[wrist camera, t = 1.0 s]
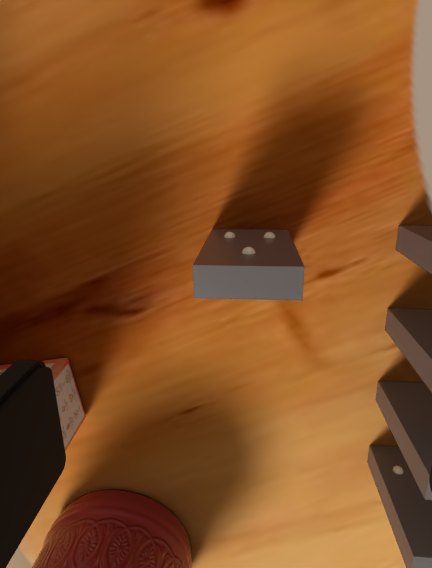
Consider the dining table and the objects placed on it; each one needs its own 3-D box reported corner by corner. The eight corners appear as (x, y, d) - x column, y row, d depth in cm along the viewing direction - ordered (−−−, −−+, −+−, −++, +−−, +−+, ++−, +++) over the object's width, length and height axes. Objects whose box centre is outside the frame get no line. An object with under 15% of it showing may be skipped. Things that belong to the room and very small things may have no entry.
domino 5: (369, 442, 31) (414, 552, 22) (437, 445, 30) (509, 559, 22) (367, 461, 31) (409, 577, 23) (433, 465, 31) (502, 584, 22)
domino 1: (212, 224, 27) (192, 258, 18) (288, 224, 26) (304, 260, 18) (212, 252, 27) (194, 298, 19) (286, 253, 27) (302, 300, 18)
